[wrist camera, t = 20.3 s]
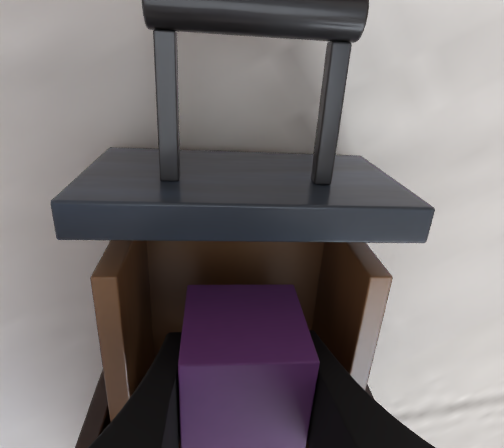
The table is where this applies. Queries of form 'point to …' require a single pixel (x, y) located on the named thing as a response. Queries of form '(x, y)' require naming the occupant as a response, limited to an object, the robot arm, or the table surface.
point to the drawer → (239, 206)
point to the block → (245, 368)
